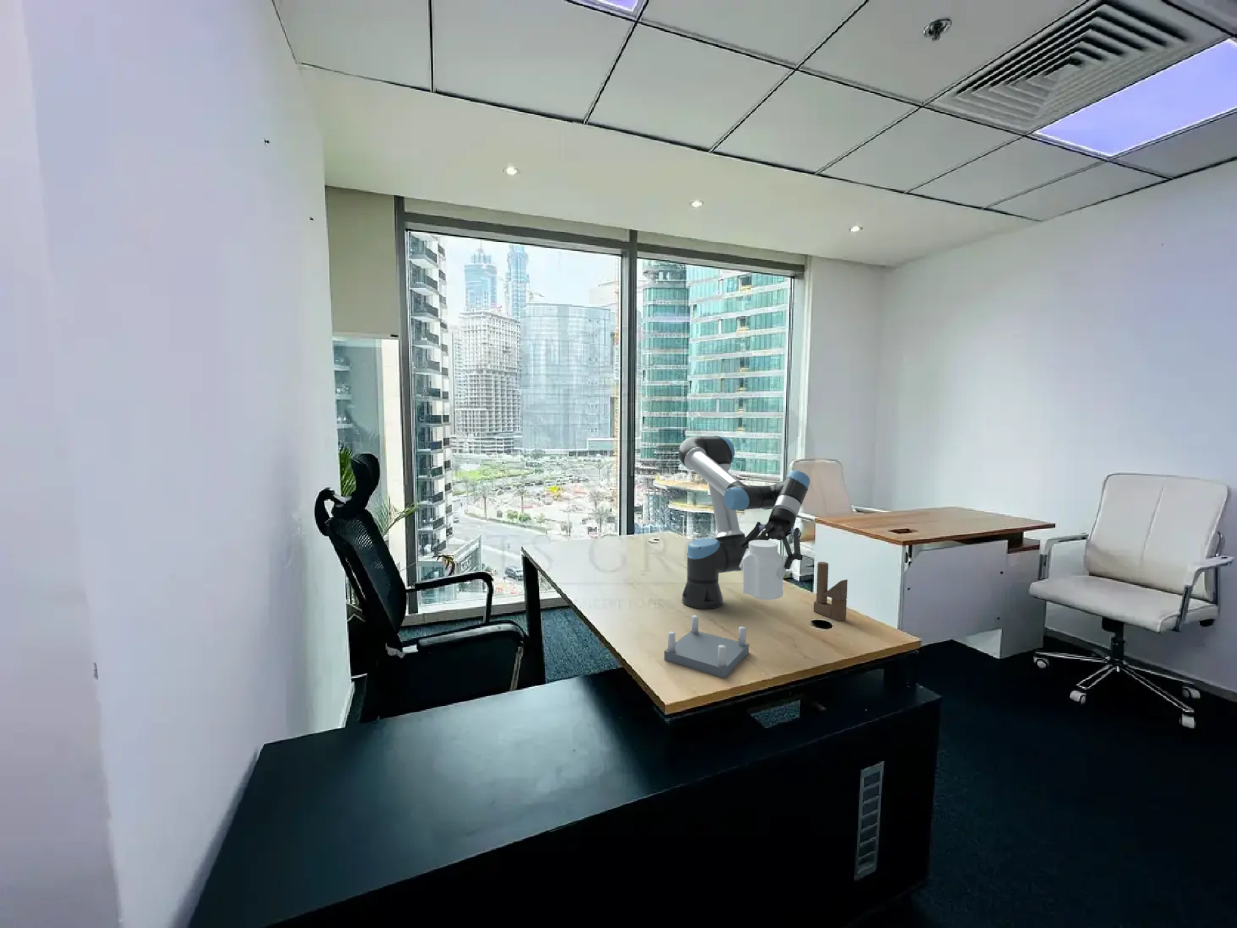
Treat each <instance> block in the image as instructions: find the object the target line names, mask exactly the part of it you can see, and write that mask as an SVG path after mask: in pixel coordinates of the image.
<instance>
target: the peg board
mask: <svg viewBox="0 0 1237 928" xmlns="http://www.w3.org/2000/svg"><path fill="white" fill-rule="evenodd" d="M667 635H668V637H667V648H666V649H665V650H664V654H663V656H664V657H663V659H664V661H668V662H671V663H673V664H674V663H675V664H678V665H680V666H684V667H687V668H691V669H694V670H698V671H700V672H703V673H707V674H710V675H713V676H717V677H720V678H723V679H726V677H727V676H729V675H730V673H731V672H732V671H733V670H734V669H735V668H736V667H737V666H738V665H739V664H740V663H741V662H742V661H743V659H745V657H746V656H747V655H748V654H749V653H750V652H749V651H750V644H749V643H747V642H746V641H747V637H746V636H747V627H746V626H739V627H738V641H737V640H735V639H730V638H726V637H722V636H719V635H715V634H711V633H707V632H703V631H699V616H698V615H695V614H694V615H691V630H690V631H689V632H688V633H687V634H685V635H684V636H683V637H681V638H680V639H678V640H677V641H676V632H675V631H669V632H668V633H667Z"/></svg>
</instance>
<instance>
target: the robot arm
mask: <svg viewBox="0 0 1237 928" xmlns="http://www.w3.org/2000/svg"><path fill="white" fill-rule="evenodd" d="M735 456H736V452H735V448H734V445H733V443H732V441H731V440H730V439H729V438H727V437H726V436H721V435H720V436H719V435H711V436H710V435H709V436H708V435H706V436H705V435H704V436H703V435H702V436H701V435H700V436H699V435H694V436H689V437H688V438H686V439H684V440H683V441H682V442H681V444H680V446H679V447H678V459H679V461H680V462H681V464H682V465H683V466H684V467H685V468H686V469H688V470H689V471H694V473H696V474H698V475H699V477H700V478H702V479H703V480H705V481H706V483H708V489H709V492H710V499H711V505H712V510H713V515H714V516H713V517H714V519H715V526H716V531H717V534H716V535H715V537H714V538H713V537H711V538H710V537H704V538H703V537H702V538H696V539H694V540H692V541H690V542H689V544H688V545H687V552H686V557H687V562H686V564H687V565H686V569H687V570H686V574H687V575H686V583H685V587H684V589H683V591H682V595H681V602H682V601H683V602H682V604H684V605H686V606H687V605H688V606H687V607H690V606H691V607H690V608H695V609H703V610H709V609H716V608H720V607H721V606H723V604H724V596H723V593H722V590H721V587H720V583H719V574H723V573H730V572H740V571H742V572H743V557H744V556H745V554H746V553H747V552H748V550H749V542H750V541H753V540H768V541H770V539H771V540H777V541H782V543H783V546H784V549H785V551H786V554H787V555H784V556H783V558H782V559H783V561H782V565H781V567H780V568H779V571H778V574H777V575H778V577H779V579H780V580H783V581H784V577H785V574H786V571H788V570H790V569H791V567H792V565H793V562H794V561H796V560H797V561H801V560H802V553H801V552H802V551H801V541H800V539H801V535H802V531H801V530H800V528H799V527H795V528H794V525H795V523H796V521H797V517H798V514H799V512H800V509H801V506H802V505H803V502H804V500H805V498H806V496H807V493H808V491H809V486H810V483H811V479H810V476H808V474H806V473H805V472H804V471H801V470H795V469H794V470H790V471H789V472H788V473H787V475H786V476H785V479H784V480H782V481H780V482H777V483H774V484H771V485H758V486H757V485H754V486H749V485H748V486H747V485H746V484H745V483H743V482H742V481H740V480H739V479H738V478H737V477H735V476H734V475H733V474H732V473H731V472H729V470H730V468H731V467H732V462H733V461H734V460H735ZM756 509H757V510H761V509H762V510H765V511H766V510H767V511H768V510H771V512H770V515H769V518H768V521H767V522H766V523H761V522H760V521H757V522H756V524H755V526H754V527H753V529H752V530H751V531H750V532H749V533H748V534H747V535H745V532H743V531H742V530H741V529H740V524H739V519H738V514H737V511H744V510H745V511H746V510H756ZM791 534H792V536H793V537H792V538H793V552H792V549H791V545H790V542H789V540H788V538H787V537H788V536H789V535H791ZM719 606H720V607H719Z"/></svg>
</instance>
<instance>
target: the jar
mask: <svg viewBox="0 0 1237 928" xmlns="http://www.w3.org/2000/svg"><path fill="white" fill-rule="evenodd" d="M778 548H779V545H778V543H777V542H776V541H773V540H753V541H750V542H749V550H748V552H747V553H746V554H745V556H744V557H743V571H742V593H743V594H745V595H750V596H753V597H755V598H756V599H758V600H763V601H764V600H765V601H768V600H771V601H773V600H777V599H780V598H783V595H784V589H783V587H784V586H783V585H784V579H783V580H780V579H779V577H778V575H777V574H778V571H779V568H780V567H781V565H782V561H783V558H782V556H781V555H780V553H779V551H778V550H779V549H778Z"/></svg>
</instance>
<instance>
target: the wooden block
mask: <svg viewBox="0 0 1237 928" xmlns="http://www.w3.org/2000/svg"><path fill="white" fill-rule="evenodd" d="M816 567H817V568H816V598H815V599H816V601H814V602H813V612H814V611H815V613H817V614H820V615H822V616H825V617H828V618H831V619H832V620H835V621H837V622H843V621H845V620H847V605H848V604H847V601H848V600H847V599H848V581H849V580H848V579H843V580H840V581H839V582H837V583H836V584H835V585H833V586H832V587H831V588H830V589H828V588H829V587H828V585H829V563H828V562H826V561H818V562H817V566H816ZM828 598H831V602H829V603H828Z"/></svg>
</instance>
